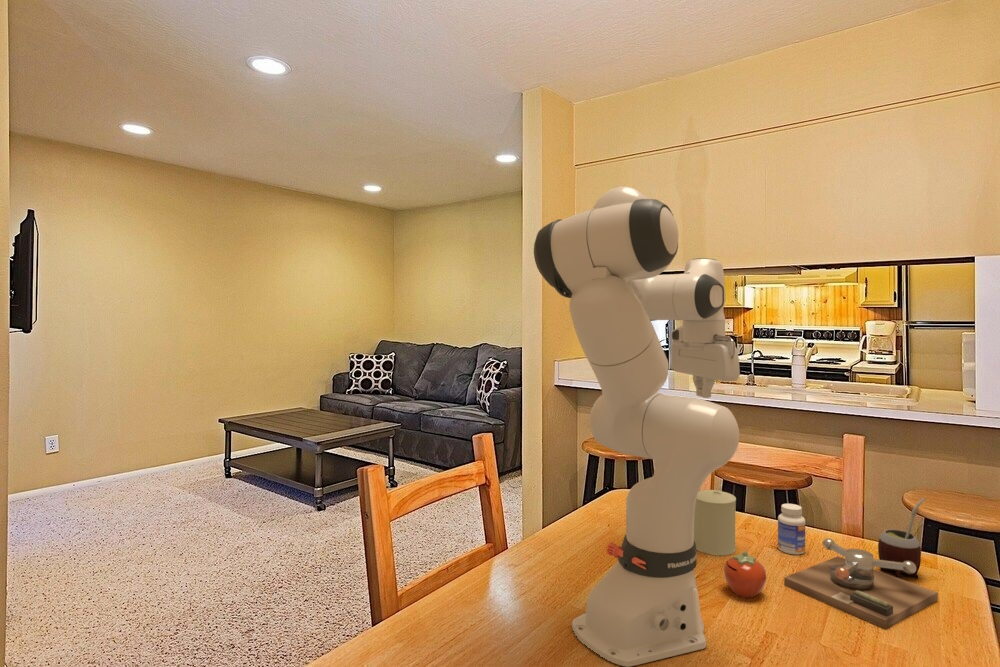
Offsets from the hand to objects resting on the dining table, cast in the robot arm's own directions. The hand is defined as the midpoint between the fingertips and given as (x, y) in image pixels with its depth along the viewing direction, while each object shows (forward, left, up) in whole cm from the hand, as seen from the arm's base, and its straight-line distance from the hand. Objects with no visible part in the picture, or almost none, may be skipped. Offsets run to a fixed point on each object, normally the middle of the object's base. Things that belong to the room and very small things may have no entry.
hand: (703, 397), depth 127 cm
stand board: (+9, -29, -34) cm, 45 cm away
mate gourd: (+24, -29, -34) cm, 50 cm away
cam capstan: (+7, -29, -32) cm, 44 cm away
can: (+3, -1, -34) cm, 34 cm away
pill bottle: (+16, -11, -34) cm, 39 cm away
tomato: (-9, -18, -34) cm, 39 cm away
